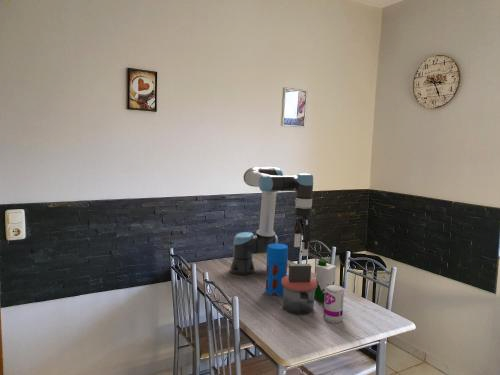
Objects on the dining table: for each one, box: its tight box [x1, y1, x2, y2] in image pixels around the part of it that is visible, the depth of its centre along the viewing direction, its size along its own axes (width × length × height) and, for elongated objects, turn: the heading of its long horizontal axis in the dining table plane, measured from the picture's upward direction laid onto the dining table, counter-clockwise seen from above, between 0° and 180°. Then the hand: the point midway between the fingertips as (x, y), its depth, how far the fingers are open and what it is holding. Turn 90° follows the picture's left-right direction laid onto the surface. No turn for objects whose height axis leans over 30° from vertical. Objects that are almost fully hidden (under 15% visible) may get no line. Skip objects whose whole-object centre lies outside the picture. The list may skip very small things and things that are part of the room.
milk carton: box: [314, 259, 337, 304], centre depth 187 cm, size 9×9×20 cm
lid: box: [281, 263, 317, 291], centre depth 176 cm, size 17×17×10 cm
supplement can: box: [323, 284, 345, 324], centre depth 167 cm, size 8×8×15 cm
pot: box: [281, 286, 315, 316], centre depth 177 cm, size 21×16×12 cm
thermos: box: [265, 242, 289, 297], centre depth 195 cm, size 11×11×25 cm
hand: (300, 251), depth 175 cm, fingers open, 13 cm apart
